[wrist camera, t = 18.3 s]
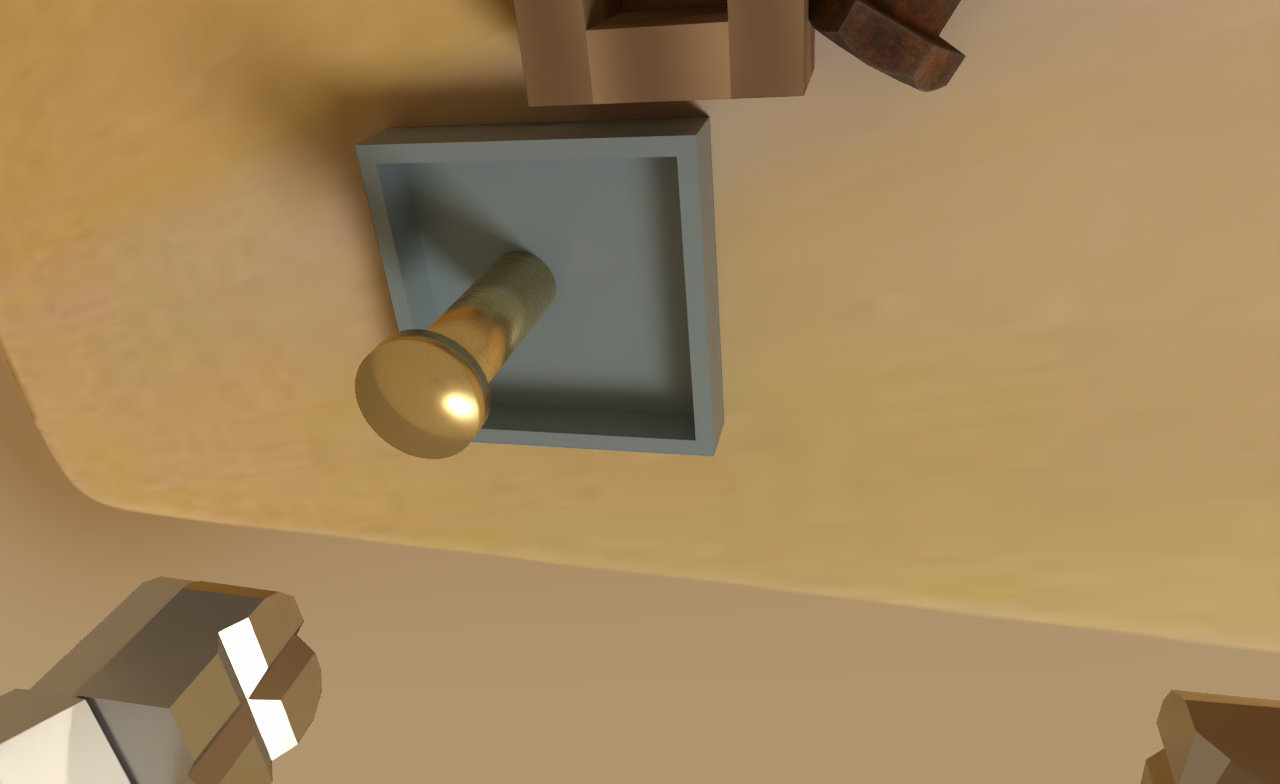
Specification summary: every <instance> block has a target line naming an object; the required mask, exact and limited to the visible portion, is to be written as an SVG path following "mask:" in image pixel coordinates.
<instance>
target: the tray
mask: <svg viewBox="0 0 1280 784" xmlns="http://www.w3.org/2000/svg"><path fill="white" fill-rule="evenodd" d="M355 150H356V154H357V158H358V162H359V166H360V171H361V175H362V179H363V183H364V187H365V192H366V196H367V200H368V204H369V208H370V212H371V217H372V221H373V225H374V229H375V233H376V238H377V242H378V246H379V250H380V254H381V259H382V263H383V267H384V271H385V275H386V279H387V284H388V288H389V292H390V296H391V300H392V305H393V309H394V313H395V317H396V321H397V326H398V330H399V332H400V331H403V330H409V329H422V330H427V329H428V328H429V327H430V326H431V325H432V324H433V323H434V322H435V321H436V320H437V319H438V318H439V317H440V316H441V315H442V314H443V313H444V312H445V311H446V310H447V309H448V308H449V307H450V306H451V305H452V304H453V303H454V302H455V301H456V300H457V299H458V298H459V297H460V296H461V295H462V294H463V293H464V292H465V291H466V290H467V289H468V288H469V287H470V286H471V285H472V284H473V283H474V282H475V281H476V280H477V279H478V278H479V277H480V276H481V275H482V274H483V273H484V272H485V271H486V270H487V269H488V268H489V267H490V266H491V265H492V264H493V263H494V262H495V261H496V260H497V259H498V258H499V257H501V256H502V255H504V254H506V253H508V252H512V251H523V252H528V253H531V254H533V255H535V256H537V257H538V258H540V259H541V260H542V261H543V262H544V263H545V264H546V265H547V266H548V267H549V269H550V270H551V272H552V274H553V277H554V279H555V285H556V292H555V297H554V299H553V301H552V303H551V304H550V306H549V307H548V308H547V310H546V311H545V312H544V313H543V315H542V316H541V317H540V318H539V320H538V321H537V322H536V324H535V325H534V326H533V327H532V329H531V330H530V331H529V333H528V334H527V335H526V336H525V338H524V339H523V340H522V341H521V343H520V344H519V345H518V347H517V348H516V349H515V350H514V352H513V353H512V354H511V355H510V357H509V358H508V359H507V361H506V362H505V363H504V364H503V366H502V367H501V368H500V369H499V371H498V372H497V373H496V375H495V376H494V377H493V378H492V380H491V381H490V382H489V383H488V384H489V387H490V393H491V407H490V412H489V415H488V418H487V420H486V421H485V423H484V425H483V426H482V427H481V429H480V430H479V431H478V433H477V434H476V435H475V437H474V438H473V440H472V441H471V442H481V443H497V444H514V445H531V446H548V447H565V448H582V449H599V450H616V451H632V452H649V453H666V454H683V455H700V456H714V454H715V451H716V448H717V445H718V441H719V438H720V435H721V431H722V428H723V425H724V409H723V388H722V367H721V346H720V326H719V305H718V284H717V263H716V242H715V221H714V200H713V180H712V159H711V138H710V117H691V118H663V119H634V120H606V121H577V122H548V123H520V124H491V125H463V126H434V127H405V128H387V129H385V130H383V131H381V132H380V133H378V134H376V135H374V136H372V137H370V138H368V139H366V140H364V141H362V142H360V143H358V144H356V145H355Z"/></svg>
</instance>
